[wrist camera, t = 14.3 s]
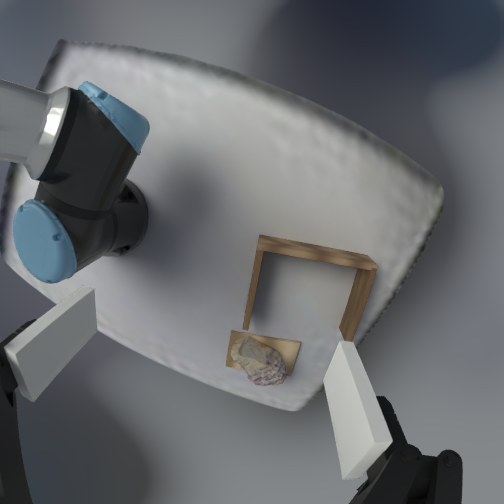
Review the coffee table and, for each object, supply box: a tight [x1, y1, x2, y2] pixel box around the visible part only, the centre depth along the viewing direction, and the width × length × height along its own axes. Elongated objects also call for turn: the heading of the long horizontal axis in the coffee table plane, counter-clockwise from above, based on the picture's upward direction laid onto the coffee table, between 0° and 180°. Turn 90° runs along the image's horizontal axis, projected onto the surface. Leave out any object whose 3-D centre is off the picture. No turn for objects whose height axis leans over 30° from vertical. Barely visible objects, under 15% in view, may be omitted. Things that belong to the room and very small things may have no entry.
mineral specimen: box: [231, 336, 287, 386], centre depth 53 cm, size 13×7×6 cm, turn 57°
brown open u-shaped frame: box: [243, 235, 378, 342], centre depth 49 cm, size 20×16×6 cm
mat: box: [226, 331, 301, 376], centre depth 56 cm, size 14×9×1 cm, turn 80°
